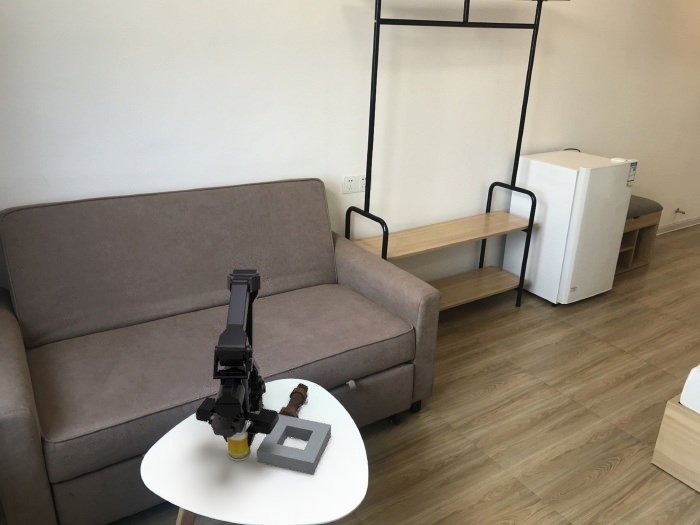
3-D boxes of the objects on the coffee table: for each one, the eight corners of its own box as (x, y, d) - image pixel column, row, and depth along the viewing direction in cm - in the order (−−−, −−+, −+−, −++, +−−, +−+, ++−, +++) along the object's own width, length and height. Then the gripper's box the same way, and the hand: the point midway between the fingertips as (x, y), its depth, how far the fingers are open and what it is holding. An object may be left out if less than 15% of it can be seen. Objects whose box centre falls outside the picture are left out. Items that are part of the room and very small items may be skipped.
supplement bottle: (226, 448, 140) (224, 416, 136) (248, 444, 142) (247, 412, 138) (230, 463, 136) (228, 431, 132) (252, 459, 137) (251, 426, 134)
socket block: (257, 462, 137) (256, 450, 136) (279, 425, 149) (278, 414, 148) (313, 474, 134) (313, 462, 132) (330, 435, 146) (331, 424, 145)
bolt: (305, 398, 163) (289, 431, 149) (290, 389, 163) (273, 421, 149) (315, 385, 161) (300, 417, 147) (300, 375, 161) (283, 406, 147)
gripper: (180, 403, 126) (186, 458, 133) (259, 419, 122) (261, 475, 128) (204, 375, 136) (209, 428, 143) (278, 389, 132) (280, 443, 138)
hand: (238, 443), depth 138 cm, fingers closed on supplement bottle, 5 cm apart
